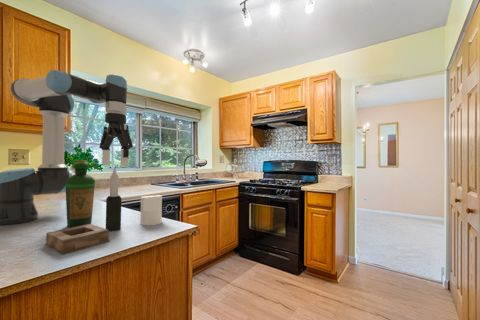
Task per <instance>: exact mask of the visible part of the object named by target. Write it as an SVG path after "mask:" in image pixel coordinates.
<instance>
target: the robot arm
mask: <svg viewBox="0 0 480 320" xmlns="http://www.w3.org/2000/svg"><path fill="white" fill-rule="evenodd" d="M9 90H10V92H11V95H12V96H13V97H14V98H15V99H16V100H17V101H19V102H20V103H22V104H24V105H27V106H29V107H34V108H38V113H40V114H41V115H42V146H41V147H42V150H41V152H42V153H41V156H42V157H41V164H39V166H38V167H37V170H35V168H32V167H30V168H28V167H26V168H15V169H9V170H8V169H7V170H3V171H1V172H0V226H7V225H14V224H15V225H18V224H22V223H28V222H31V221H32V222H33V221H35V220H37V219H38V218H39V213H38V212H39V211H38V210H37V207H36V205H35V202H34V198H35V197H34V196H40V195H41V196H42V195H52V194H55V195H56V194H62V193H66V186H65V182H66V181H67V179H68V178H69V177H71V176H73V175H74V174H73V172H72V171H71V170H69V169H68V167H69V166H67V165H66V164H65V132H66V131H65V130H66V128H65V127H66V125H65V123H66V118H67V117H68V116H69V114H70V113H73V111H74V108H75V99H74V97H79V98H81V99H86V100H87V101H89V102H91V103H93V104H104V107H105V114H104V118H105V119H104V122H105V123H106V124H108V126H105V125H104V126H103V132H102V135H101V139H100V142H99V147H98V148H99V149H101V150H102V154H101V155H102V156H101V157H102V159H101V161H102V162H101V165H102V166H110V163H111V148H110V147H111V146H112V143H113V141H114V139H115V138H117V140H118V143H119V144H120V167H129V158H130V157H129V152H130V150H131V149H132V148H133V142H132V138H131V135H130V134H131V133H130V131H129V125H128V124H126V123H127V97H128V96H127V94H128V93H127V92H128V84H127V79H126V78H125V77H124V76H122V75H119V74H114V73H113V74H107V75H106V77H105V82H102V83H98V82H96V81H92V80H89V79H86V78H83V77H80V76H78V75H74V74H71V73H68V72H65V71H62V70H58V69H50V70H49V72H47V73H46V75H45V76H44V77H38V78H33V79H30V78H25V77H24V78H19V79H16V80H14V81H13V82H12V83H11V84H10V88H9ZM130 148H131V149H130Z"/></svg>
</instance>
